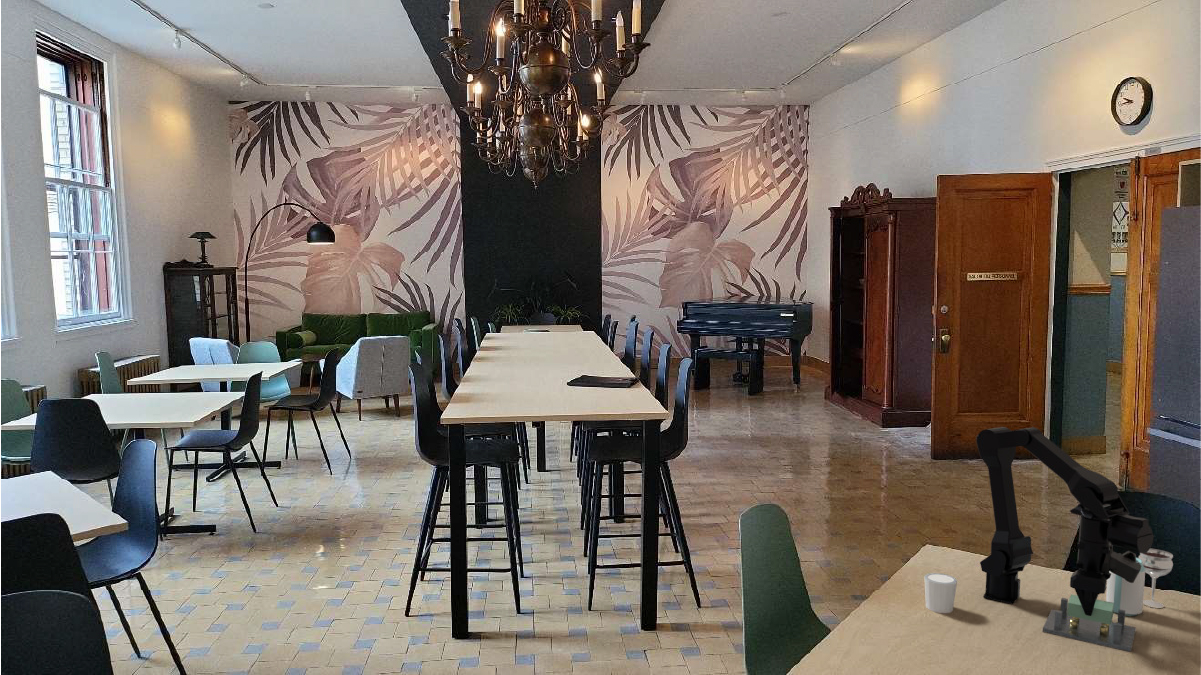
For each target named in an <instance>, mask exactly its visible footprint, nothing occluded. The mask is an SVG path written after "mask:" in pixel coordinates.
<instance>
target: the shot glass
mask: <svg viewBox="0 0 1201 675" xmlns="http://www.w3.org/2000/svg"><path fill="white" fill-rule="evenodd" d="M923 579H924V591H925V592H924V594H925V595H924V596H925V608H926V609H928V610H929V611H931V612H934V613H938V614H950V613H952V612H953V611H954V604H955V597H956V589H957V584H958V580H957V578H955V577H954V576H952V575H949V574H946V573H940V572H939V573H938V572H931V573H927V574H925V575H924V577H923Z"/></svg>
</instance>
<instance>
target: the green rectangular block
mask: <svg viewBox="0 0 1201 675" xmlns="http://www.w3.org/2000/svg"><path fill="white" fill-rule="evenodd" d="M1113 609H1114V603H1112V602H1107V601H1106V600H1102V599H1098V598H1097V599H1096V602H1095V605H1094V609H1093V612H1092V615H1091V616H1088V615H1085V613H1084V610H1083V608H1082V605H1081V603H1080V600H1079V598H1078V596H1077V594H1070V597H1069V598H1068V608H1067V616H1072V617H1077V618H1082V619H1086V620H1091V621H1096V622H1100V623H1105V624H1110V625H1111V622H1112V621H1113V617H1114V612H1113Z"/></svg>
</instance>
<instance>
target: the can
mask: <svg viewBox="0 0 1201 675" xmlns="http://www.w3.org/2000/svg"><path fill="white" fill-rule="evenodd" d="M1136 562H1137V563H1138V562H1139V563H1140V565H1141V570H1140V572H1139V574H1138V575H1137V577H1136V579H1135V581H1134V583H1130V582H1128V581H1126V580H1125V579H1124V578H1122V577H1120V576H1118V575H1116V574H1114V573H1112V572H1111V571H1109V573H1111V576H1110V578H1109V579H1107V585H1106V587H1107V588H1106V597H1105V598H1106V600H1105V601H1107V602H1112V603H1114V609H1113V613H1115V614H1118V610H1124V611H1125V616H1128V617H1129V616H1130V617H1133V616H1134V617H1135V616H1138V615H1140V614H1142V613H1143V608H1144V605H1143V600H1144V597H1145V596H1144V593H1145V580H1146V578H1145V576H1146V572H1145V568H1144V566H1143V564H1142V560H1140V559H1139V558H1138V557H1136ZM1137 614H1138V615H1137Z"/></svg>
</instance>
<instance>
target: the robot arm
mask: <svg viewBox="0 0 1201 675" xmlns="http://www.w3.org/2000/svg"><path fill="white" fill-rule="evenodd" d="M975 438H976V440H975V441H976V446H977V449H978V453H979V456H980V458H981V460H982V461H983V463H984V464H985V465H986V466H987V471H988V478H989V485H990V486H989V487H990V493H991V503H992V508H993V516H994V525H995V530H994V531H995V532H994V534H993V537H992V540H991V542H990V555H988V556H986V557H985V558H984V559H982V560H981V561H979V564H980V569H981V572H983V573H986V574H985V592H984V594H983V598H984V599H988V600H992V601H998V602H1001V601H1002V602H1001V603H1006V602H1007V603H1006V604H1010V603H1012V605H1013V603H1014V604H1015V602H1016V600H1018V599H1019V598H1020V595H1021V594H1020V593H1021V579H1020V578H1019V572H1023V571H1024V570H1025V567H1026V566H1027V565H1028V564H1030V562H1031V561H1032V560H1031V559H1032V555H1034V551H1033V547H1032V538H1031V536H1030V535H1027V536H1025V535H1024V533H1023V532H1022V531H1021V529H1020V525H1019V518H1018V517H1019V515H1018V510H1017V502H1016V495H1015V493H1016V492H1015V486H1014V480H1013V479H1014V478H1013V470H1012V465H1013V462H1014V459H1015V457H1016V455H1017V447H1023V448H1024V449H1026V451H1028V452H1029V453H1030V454H1031V455H1032V456H1034V457H1035V458H1036V459H1037V460H1039V462H1041V463H1042V464H1043V465H1045V466H1046V467H1047V468H1048V469H1049V470H1051V471H1052V472H1053V473H1054V474H1055V475H1057V476H1058V477H1059V479H1061V480H1063V482H1064V483H1065V484H1066V485H1067V488H1068V490H1069V492H1070V494H1071V495H1072V496H1073V497H1074V498H1075V499H1076V501H1077V502H1078V504H1077V505H1076V506H1075V507H1074V508H1071V509H1070V510H1069V511H1070V513H1071V514H1073V515H1076V516H1077V515H1078V516H1079V517H1080V521H1079V534H1078V542H1077V546H1076V549H1078V550H1077V551H1078V552H1077V561H1076V564H1075V565H1076V566H1075V567H1076V569H1077V570H1076V571H1074V572H1072V574H1071V576H1070V580H1069V581H1070V582H1069V587H1070V588H1072V589H1074V592H1075V593H1076V595H1077V596H1078V598H1079V600H1080V603H1081V605H1082V608H1083V610H1084V613H1085V615H1088V616H1091V615H1092V612H1093V609H1094V605H1095V602H1096V599H1097V600H1098V597H1099V595H1101V594H1102V595H1104V594H1105V593H1106V592H1107V579H1109V578H1110V576H1111V573H1109V571H1111V572H1112V573H1114V574H1116V575H1118V576H1120V577H1122V578H1124V579H1125V580H1126V581H1128V582H1130V583H1134V581H1135V579H1136V577H1137V575H1138V574H1139V572H1140V570H1141V565H1140V563H1139V562H1138V563H1137V562H1136V558H1137V554H1136V553H1139V554H1140V553H1143V554H1144V553H1146V552H1148V551H1149V549H1152V546H1153V543H1154V537H1155V536H1154V534H1153V530H1152V527H1151V526H1150V525H1149V519H1147V518H1144V517H1136V516H1132V515H1130V511H1129V509H1128V507H1127V506H1126V504H1125V503H1124V501H1123V499H1122V497H1121V495H1120V493H1119V490H1118V489H1119V487H1118V486H1117V484H1115V482H1114V481H1113V480H1111V479H1109V478H1108V477H1106V476H1104V475H1102V474H1101V473H1099V472H1096V471H1094V470H1090V469H1088V468H1086V467H1084V466H1083V465H1081V464H1080V463H1078V461H1076V460H1075V459H1074V458H1072V456H1070V455H1069V454H1068V453H1067V452H1065V451H1064V450H1062V449H1061V447H1059V446H1058V445H1056V443H1054V442H1053V441H1051V440H1050V439H1049V438H1048V437H1047V436H1045V435H1044V434H1043V432H1042V431H1041V430H1040V429H1039V428H1036V427H1026V428H1025V427H1024V428H1020V429H1014V430H1011V429H1010V428H1008V427H1005V426H999V427H993V428H986V429H985V428H984V429H983V430H981V431H979V433H978V434H977V435H976V437H975ZM1109 506H1110V507H1109ZM1106 507H1109V508H1106ZM1105 508H1106V509H1105ZM1114 546H1116V547H1120V548H1123V549H1125V550H1127V551H1125V552H1123V553H1120V552H1119V553H1117V552H1115V551H1114V550H1113V547H1114ZM1134 552H1136V553H1134Z"/></svg>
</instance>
